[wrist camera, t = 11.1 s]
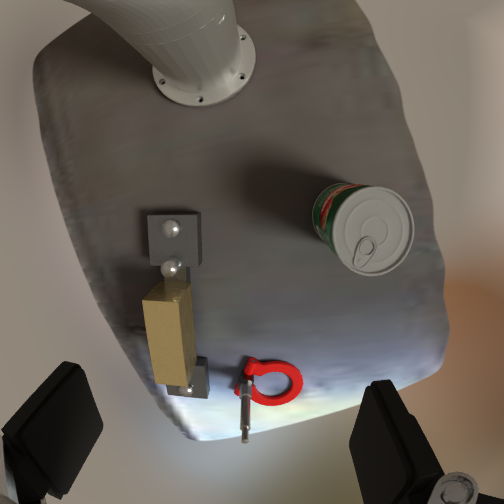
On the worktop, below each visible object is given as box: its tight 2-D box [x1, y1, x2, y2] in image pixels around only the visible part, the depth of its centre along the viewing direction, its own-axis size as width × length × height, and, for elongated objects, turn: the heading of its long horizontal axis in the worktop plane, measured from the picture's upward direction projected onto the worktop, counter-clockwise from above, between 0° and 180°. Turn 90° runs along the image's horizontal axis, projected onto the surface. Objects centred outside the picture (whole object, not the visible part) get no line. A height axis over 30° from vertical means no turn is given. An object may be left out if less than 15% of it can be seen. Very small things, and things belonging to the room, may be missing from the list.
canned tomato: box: [312, 183, 414, 276], centre depth 30 cm, size 8×8×11 cm
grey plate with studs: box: [147, 213, 210, 399], centre depth 36 cm, size 26×6×4 cm, turn 179°
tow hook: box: [234, 357, 303, 443], centre depth 35 cm, size 8×13×9 cm
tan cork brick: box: [142, 281, 197, 387], centre depth 34 cm, size 11×4×6 cm, turn 179°
